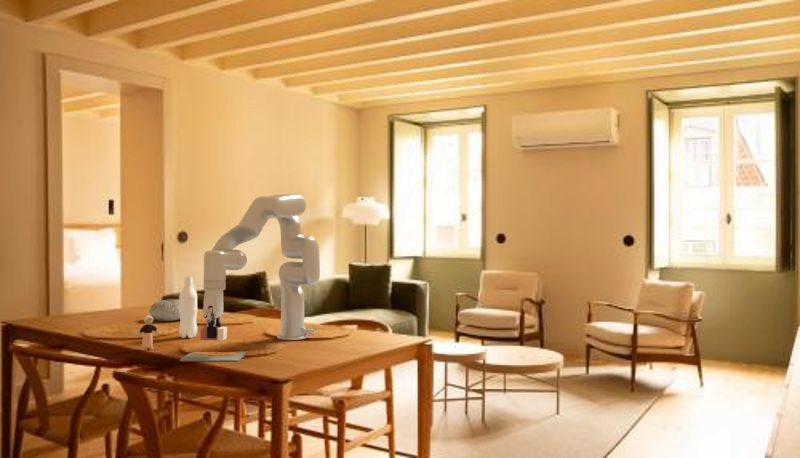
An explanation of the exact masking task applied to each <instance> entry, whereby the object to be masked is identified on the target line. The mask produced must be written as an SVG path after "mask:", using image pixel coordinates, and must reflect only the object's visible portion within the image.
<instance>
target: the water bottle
mask: <svg viewBox="0 0 800 458" xmlns="http://www.w3.org/2000/svg"><path fill="white" fill-rule="evenodd" d="M193 282H194V281H193V276H184V282H183V283H184V285H183V288H182V289H181V291H180V294H179V297H178V299H179V300H180V309H179V313H180V320H179V321H180V322H179V327H178V332H179V335H180V337H181V338H182V339H186V338H187V337H188V339H192V338H196V336H197V334H198V325H197V316H198V315H197V314H198V294H197V291H196V289H195V288H194V285H193Z"/></svg>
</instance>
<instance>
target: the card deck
mask: <svg viewBox="0 0 800 458" xmlns="http://www.w3.org/2000/svg"><path fill="white" fill-rule="evenodd" d="M199 336H200V341H224V340H226V339H227V338H228V326H221V327H217V337H216V338H207V325H206V326H203V327H201V328H200V335H199Z"/></svg>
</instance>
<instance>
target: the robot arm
mask: <svg viewBox="0 0 800 458" xmlns="http://www.w3.org/2000/svg"><path fill="white" fill-rule="evenodd" d="M306 208H307V202H306V199H305V198H304V197H303V196H302V195H300V194H273V195H270V196H268V195H267V196H265V195H264V196H258V197H256V198H255V199H254V200H253V201H252V202H251V204H250V206H249V207H248V208H247V210H246V212H245V213H244V215H243V217H242V219H241V220H240V221H239V223H238V224H237V225H234V226H233V227H232V228H231V229H230V230H228V231H227V232H225V233H224V234H223V235H222V236H221V237H219V239H218V240H216V243H215V245H214V246H213V248H212V249H211V250H206V251H205V252H204V255H203V290H204V296H203V308H202V318H203V319H206V327H207V338H216V337H217V327H222V318H221V317H222V316H223V315H224V314H223V313H224V290H226V285H227V284H226V279H227V278H226V277H227V276H226V275H227V271H239V270H240V271H241V270H242V269H243V268H245V267H246V265H247V263H248V259H247V255H246V253H245V252H243V251H242V250H240V249H235V248H236V247H238V246H240V245H241V244H245V243H247V242H250V241H252V240H255V239H256V238H258V237H259V236H260V234H261V232H262V230H263V229H264V227H265V225H266V224H267V222H268V220H269V219H276V220H277V222H278V224H279V229H280V230H279V231H280V246H281V253H282V256H283V257H285V258H286V259H292V260H293V259H296V260H297V259H298V260H302V261H286V262H284V263H282V264H281V265H280V267H279V268H278V269H279V270H278V277H279V283H280V293H281V294H280V296H281V297H280V333H279V334H277V335H276V338H277V339H278V340H283V341H299V340H307V338H309V336H308V335H309V334H311V335H315V333H316V330H315V328H306V327H307V326H306V325H305V291H304V289H303V287H302V286H305V287H306V286H308V287H309V286H310V287H311V286H315V285H317V283H318V282H319V280H320V276H321V265H320V264H321V261H320V246H319V242H318V241H317V239H316V238H315V237H313V236H311V235H303V234H302V233H303V232H302V223H301V220H300V218H299V216H301V215H303V214H304V213H305V211H306Z"/></svg>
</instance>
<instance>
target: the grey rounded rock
mask: <svg viewBox="0 0 800 458" xmlns="http://www.w3.org/2000/svg"><path fill="white" fill-rule="evenodd" d="M179 309H180V298H177V299H176V298H175V299H174V298H169V299H161V300H159V301H156V302H154V303H153V304H152V305H150V309H149V316H151V317H153V320H156V321H159V322H174V321H178V320H179V321H180V313H179Z"/></svg>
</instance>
